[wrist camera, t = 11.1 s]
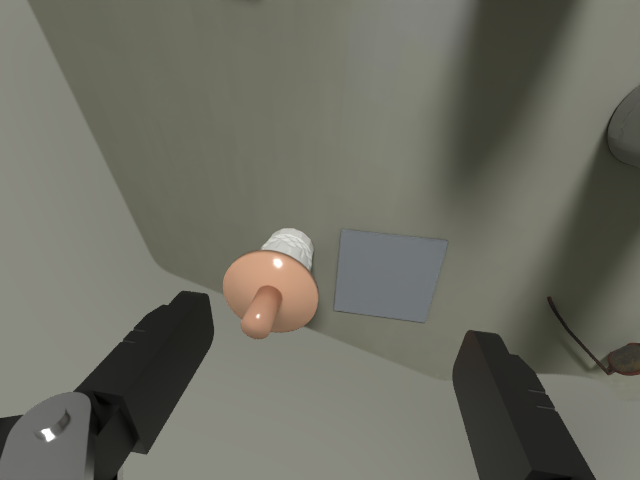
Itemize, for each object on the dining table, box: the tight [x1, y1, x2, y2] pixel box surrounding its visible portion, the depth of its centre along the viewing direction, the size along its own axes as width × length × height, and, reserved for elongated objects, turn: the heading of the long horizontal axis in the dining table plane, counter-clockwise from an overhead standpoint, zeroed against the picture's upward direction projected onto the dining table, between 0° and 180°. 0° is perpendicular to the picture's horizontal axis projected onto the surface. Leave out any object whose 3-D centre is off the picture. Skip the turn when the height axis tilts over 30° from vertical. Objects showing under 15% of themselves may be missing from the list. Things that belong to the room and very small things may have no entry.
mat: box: [334, 229, 448, 323], centre depth 44 cm, size 14×14×1 cm
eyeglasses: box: [547, 297, 640, 376], centre depth 39 cm, size 15×15×5 cm
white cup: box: [260, 228, 314, 272], centre depth 39 cm, size 8×8×10 cm
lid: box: [223, 250, 319, 339], centre depth 32 cm, size 11×11×6 cm
